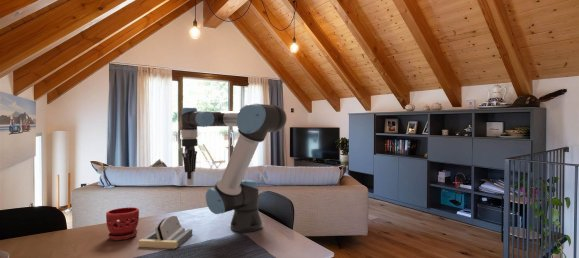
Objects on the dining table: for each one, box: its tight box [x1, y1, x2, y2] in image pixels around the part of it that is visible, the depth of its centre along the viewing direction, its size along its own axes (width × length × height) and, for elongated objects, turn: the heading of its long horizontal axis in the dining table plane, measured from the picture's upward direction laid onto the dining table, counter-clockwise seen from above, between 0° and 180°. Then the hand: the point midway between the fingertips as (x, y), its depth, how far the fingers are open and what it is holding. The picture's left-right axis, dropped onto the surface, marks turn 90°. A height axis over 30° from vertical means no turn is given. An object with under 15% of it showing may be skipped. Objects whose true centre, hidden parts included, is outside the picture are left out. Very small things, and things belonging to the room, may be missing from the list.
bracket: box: [138, 228, 193, 249], centre depth 138 cm, size 16×16×2 cm
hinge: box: [154, 215, 186, 240], centre depth 142 cm, size 17×5×10 cm, turn 177°
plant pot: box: [105, 206, 140, 241], centre depth 144 cm, size 13×13×12 cm
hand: (190, 184), depth 161 cm, fingers closed
